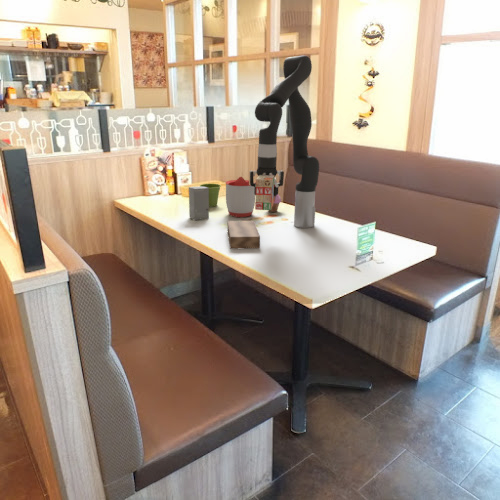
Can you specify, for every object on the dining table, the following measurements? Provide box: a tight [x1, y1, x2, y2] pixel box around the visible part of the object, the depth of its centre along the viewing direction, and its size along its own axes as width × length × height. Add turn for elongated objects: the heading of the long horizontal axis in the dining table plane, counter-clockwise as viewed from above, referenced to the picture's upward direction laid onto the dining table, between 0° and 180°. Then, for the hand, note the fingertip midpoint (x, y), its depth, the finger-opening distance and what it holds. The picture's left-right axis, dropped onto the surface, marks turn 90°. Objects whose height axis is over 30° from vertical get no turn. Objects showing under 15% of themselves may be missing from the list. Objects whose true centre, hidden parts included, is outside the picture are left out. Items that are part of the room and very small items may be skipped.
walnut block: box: [226, 220, 261, 250], centre depth 193 cm, size 12×24×5 cm, turn 6°
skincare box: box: [188, 185, 210, 221], centre depth 223 cm, size 8×7×16 cm
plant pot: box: [199, 183, 222, 207], centre depth 250 cm, size 12×12×11 cm
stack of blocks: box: [254, 175, 277, 211], centre depth 183 cm, size 21×6×12 cm, turn 172°
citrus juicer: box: [224, 176, 256, 218], centre depth 230 cm, size 16×17×20 cm
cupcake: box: [267, 194, 282, 213], centre depth 239 cm, size 9×9×10 cm
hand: (266, 196), depth 184 cm, fingers closed on stack of blocks, 7 cm apart
